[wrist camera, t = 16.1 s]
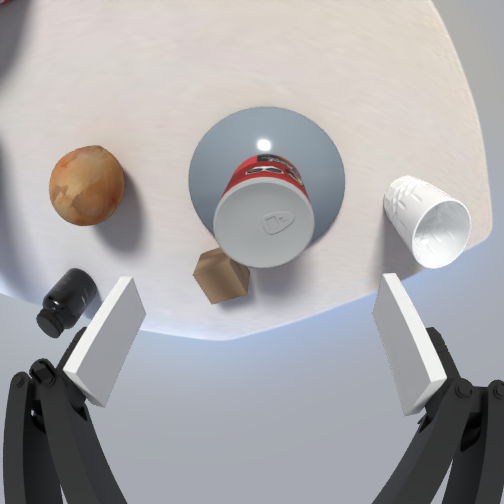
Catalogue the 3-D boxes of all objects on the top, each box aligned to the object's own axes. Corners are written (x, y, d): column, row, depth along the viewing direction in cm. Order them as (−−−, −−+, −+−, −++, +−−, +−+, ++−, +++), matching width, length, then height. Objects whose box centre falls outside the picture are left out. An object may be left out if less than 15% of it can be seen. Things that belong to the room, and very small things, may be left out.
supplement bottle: (103, 293, 43) (71, 342, 33) (82, 300, 45) (51, 345, 34) (82, 262, 40) (43, 308, 30) (61, 271, 41) (25, 314, 31)
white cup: (367, 205, 32) (397, 244, 24) (404, 158, 28) (447, 183, 20) (405, 237, 34) (437, 280, 25) (439, 195, 30) (481, 228, 22)
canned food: (314, 189, 30) (334, 233, 21) (261, 229, 33) (257, 285, 24) (271, 137, 28) (270, 156, 18) (217, 183, 31) (192, 223, 21)
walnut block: (217, 281, 40) (211, 304, 35) (201, 253, 37) (192, 274, 33) (249, 271, 38) (247, 294, 34) (234, 241, 36) (229, 262, 32)
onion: (79, 202, 34) (37, 234, 26) (80, 136, 29) (30, 154, 21) (134, 214, 35) (97, 252, 26) (140, 142, 30) (96, 162, 21)
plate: (202, 250, 37) (199, 255, 36) (183, 114, 28) (179, 114, 27) (337, 248, 35) (339, 253, 34) (343, 107, 26) (346, 107, 25)
